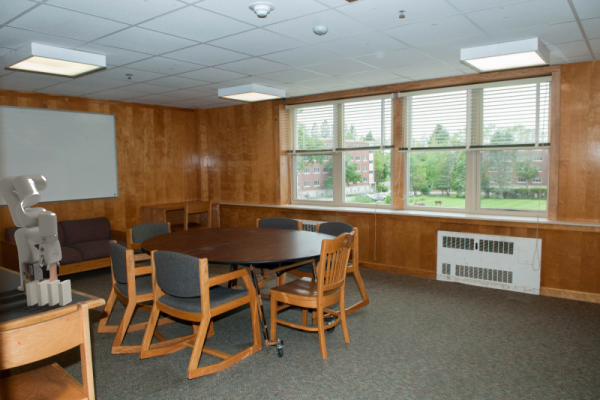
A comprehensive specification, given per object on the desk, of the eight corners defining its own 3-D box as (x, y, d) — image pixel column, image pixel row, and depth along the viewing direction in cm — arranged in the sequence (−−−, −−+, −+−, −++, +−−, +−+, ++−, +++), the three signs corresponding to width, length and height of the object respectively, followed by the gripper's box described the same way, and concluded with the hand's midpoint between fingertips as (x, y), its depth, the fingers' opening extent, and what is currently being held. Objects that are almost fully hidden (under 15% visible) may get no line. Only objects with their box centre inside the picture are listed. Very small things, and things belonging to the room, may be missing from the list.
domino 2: (38, 305, 183) (36, 283, 183) (47, 301, 189) (45, 280, 189) (42, 305, 183) (40, 283, 182) (51, 301, 189) (49, 280, 188)
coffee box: (48, 292, 203) (46, 260, 202) (36, 296, 197) (33, 263, 196) (35, 290, 206) (33, 259, 205) (23, 294, 201) (20, 262, 199)
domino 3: (45, 285, 192) (44, 264, 191) (54, 281, 198) (52, 261, 197) (49, 285, 192) (47, 264, 191) (57, 281, 198) (56, 261, 197)
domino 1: (27, 305, 184) (25, 283, 183) (36, 301, 190) (35, 280, 189) (31, 305, 184) (29, 283, 183) (40, 301, 190) (38, 280, 189)
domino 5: (59, 305, 183) (57, 283, 182) (68, 301, 189) (66, 279, 188) (63, 305, 183) (61, 283, 182) (71, 301, 189) (70, 279, 188)
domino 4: (48, 305, 183) (47, 283, 182) (57, 301, 189) (55, 280, 188) (52, 305, 183) (50, 283, 182) (61, 301, 189) (59, 279, 188)
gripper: (43, 242, 184) (46, 282, 186) (67, 235, 201) (70, 271, 203) (27, 242, 185) (30, 281, 187) (53, 235, 202) (55, 271, 204)
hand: (51, 276), depth 195 cm, fingers closed on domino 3, 5 cm apart
